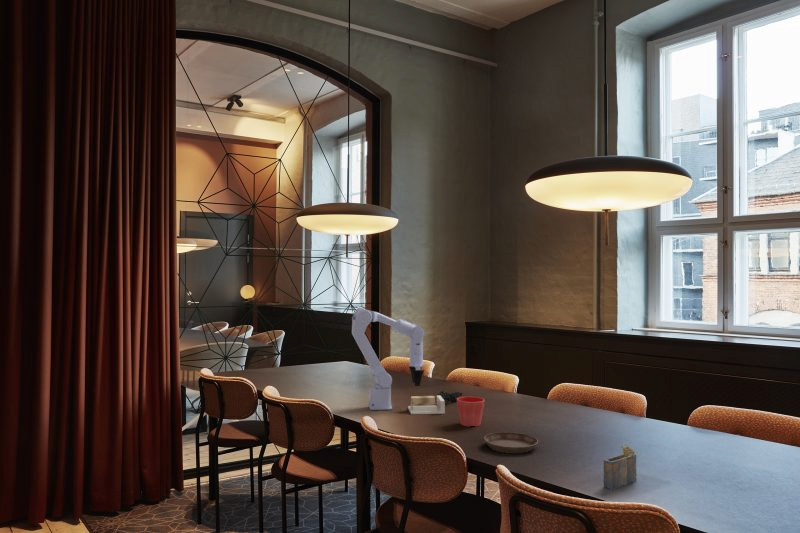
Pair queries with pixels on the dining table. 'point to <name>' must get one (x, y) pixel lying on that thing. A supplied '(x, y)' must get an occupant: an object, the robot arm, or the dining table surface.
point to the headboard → (430, 408)
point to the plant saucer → (510, 442)
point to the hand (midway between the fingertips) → (416, 384)
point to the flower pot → (470, 410)
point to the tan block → (422, 401)
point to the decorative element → (449, 396)
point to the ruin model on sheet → (620, 469)
